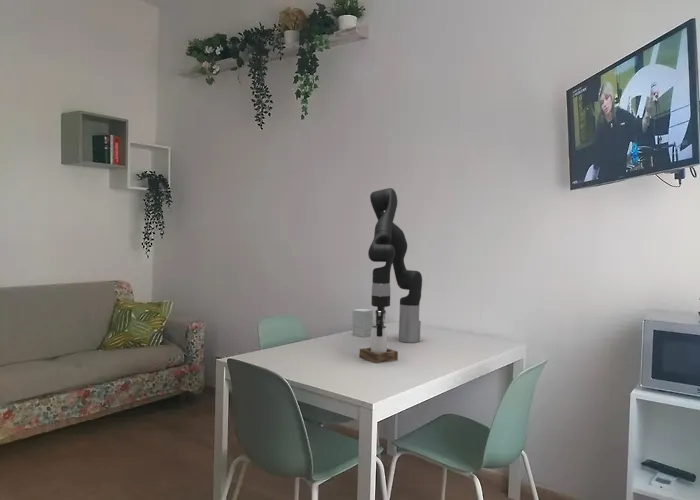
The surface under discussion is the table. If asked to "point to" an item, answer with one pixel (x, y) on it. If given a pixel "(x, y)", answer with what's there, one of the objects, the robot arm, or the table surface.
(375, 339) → the can
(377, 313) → the robot arm
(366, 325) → the supplement box
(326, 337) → the table surface
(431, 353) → the table surface
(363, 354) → the tray
